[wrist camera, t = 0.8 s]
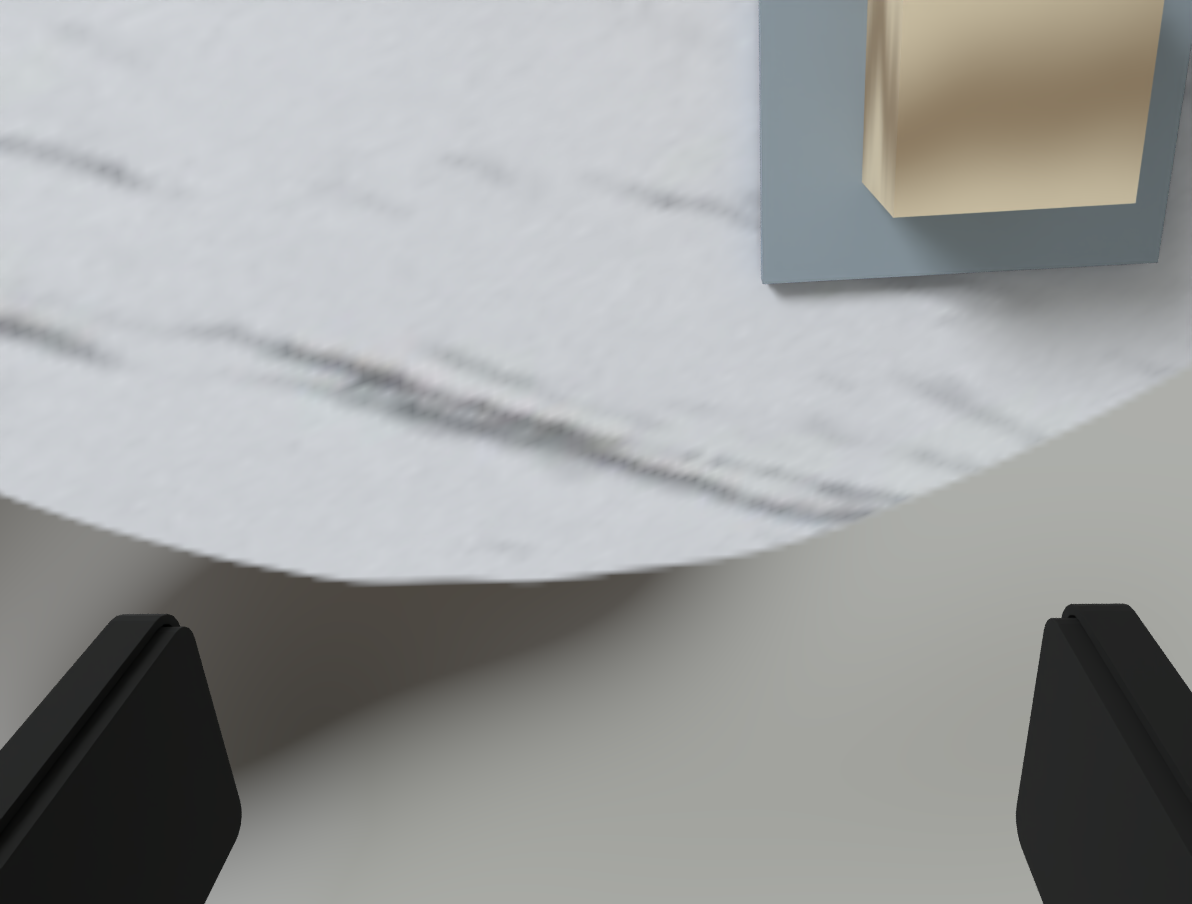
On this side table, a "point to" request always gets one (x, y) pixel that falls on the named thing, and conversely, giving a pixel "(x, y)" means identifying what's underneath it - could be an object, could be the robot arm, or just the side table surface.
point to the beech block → (1006, 103)
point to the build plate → (921, 243)
